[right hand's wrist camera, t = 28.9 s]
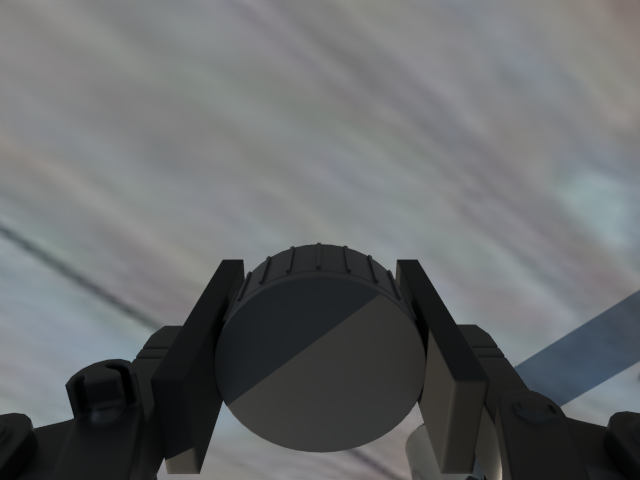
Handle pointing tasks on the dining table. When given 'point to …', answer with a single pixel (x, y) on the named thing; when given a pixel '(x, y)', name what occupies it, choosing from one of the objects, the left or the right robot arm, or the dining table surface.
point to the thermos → (430, 459)
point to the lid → (320, 350)
